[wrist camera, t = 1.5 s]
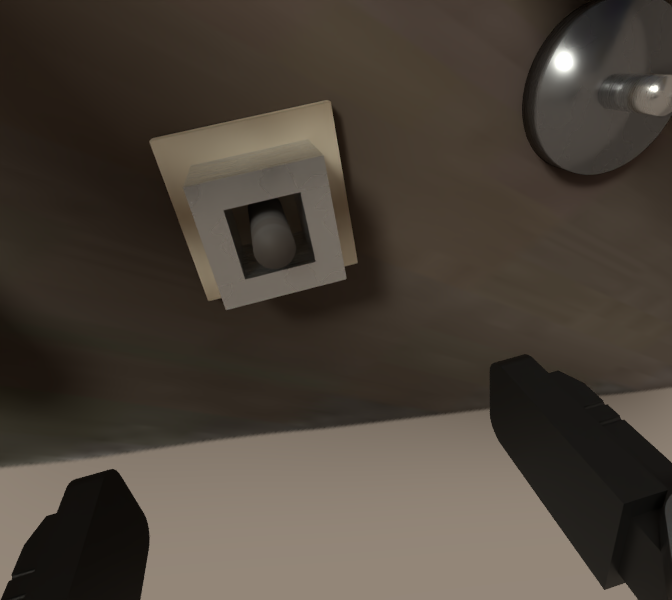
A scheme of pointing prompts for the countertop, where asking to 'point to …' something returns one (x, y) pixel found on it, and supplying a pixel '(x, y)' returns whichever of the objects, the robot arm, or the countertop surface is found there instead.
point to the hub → (601, 85)
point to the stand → (266, 216)
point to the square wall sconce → (255, 186)
